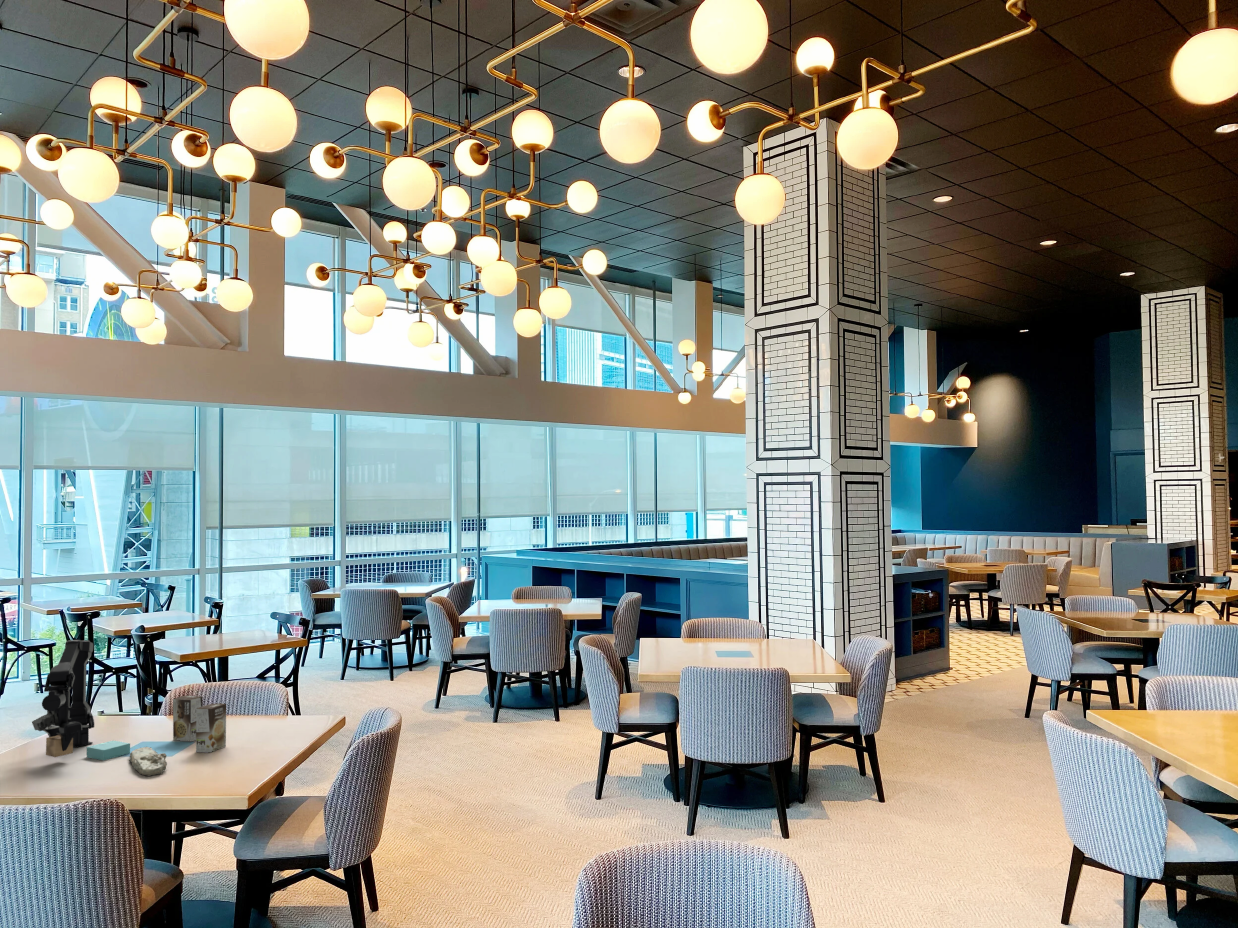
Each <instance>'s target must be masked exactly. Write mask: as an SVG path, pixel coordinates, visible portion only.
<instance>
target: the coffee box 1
mask: <svg viewBox="0 0 1238 928" xmlns="http://www.w3.org/2000/svg"><path fill="white" fill-rule="evenodd" d="M203 699H204V698H203V696H201V695H200V696H197V695H183V696H179V697H177V698H173V699H172V726H173V727H172V728H173V729H172V732H173V733H172V740H173V741H176V740H180V742H195V741H196V715H197V708H199V707H202V706H204V704H203V703H204V701H203Z"/></svg>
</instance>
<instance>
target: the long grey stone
mask: <svg viewBox="0 0 1238 928" xmlns="http://www.w3.org/2000/svg"><path fill="white" fill-rule="evenodd" d="M166 758H167V754H166V753H163V752H162V753H158V752H157V751H156V750H154V749H153V748H152V747H149V746H144V747H139V748H135V749H134V750H132V751H130V753H129V761H130V762H131V765H132V767H133V769H134V770H136V772H138V773H139V775H141V774H142V775H143V776H147V777H149V776H155V775H159V774H160V775H161V774H163V771H165V770H167V766H168V762H167V761H166Z"/></svg>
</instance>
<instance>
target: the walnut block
mask: <svg viewBox="0 0 1238 928" xmlns="http://www.w3.org/2000/svg"><path fill="white" fill-rule="evenodd" d="M45 741H46V744H45V755H46V756H48V757H52V758H58V757H61V756H67V755H69V754H73V753H74V749H73V748H74V747H73V738H72V740H71V742H70V744H69V746H68V748H67V750H65V751H63V750H62V744H61V737H60V736H59V735H57V736H53V737H49V736H48V737H46V739H45Z"/></svg>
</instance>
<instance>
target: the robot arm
mask: <svg viewBox="0 0 1238 928" xmlns="http://www.w3.org/2000/svg"><path fill="white" fill-rule="evenodd" d="M64 644H65V645H64V650H63V652H62V655H61V656H60V659H59V661H58V664H57V665H55V666H53V667H52V668H51V669H50V671H49V673H48V674H47V677H46V679H45V680H46V681H45V685H44V690H43V692H44V693H45V692H48V695H46V696H45V697H44V698H43V699H42V702H41V706H42V708H43V710H45V711H46V714H44V715H42V716H39V717H37V718H36V719H35V720H32V721H31V723H32V726H33V729H34V730H35V731H39V732H42V731H43V732H44V733H46V734H47V736H48V737H53V736H57V735H59V736H60V737H61V744H62V750H63V751H65V750H67V748H68V746H69V744H70V742H71V740H72V738H73V748H79V747H84V746H87V745H92V744H93V741H90V738H89V737H90V735H89V733H90V732H89V731H90V729H91V730H92V729H94V728H95V719H94V716H93V715H94V714H93V713H92V712H91V706H90V705H89V703H88V702H87V664H88V661H89V660H90V658H91V657H92V653H93V651H94V643H93V642H91V641H90V640H89V639H88V640H81V639H74V640H73V639H72V640H71V639H70V640H66V641H65V643H64ZM71 689H72V690H71ZM70 690H71V693H70ZM70 694H71V697H70ZM70 699H71V702H70ZM70 703H71V705H70Z"/></svg>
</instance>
